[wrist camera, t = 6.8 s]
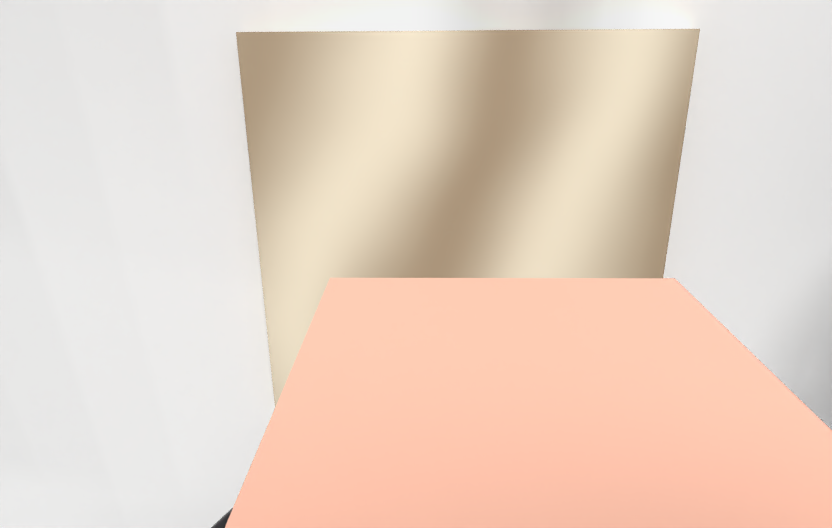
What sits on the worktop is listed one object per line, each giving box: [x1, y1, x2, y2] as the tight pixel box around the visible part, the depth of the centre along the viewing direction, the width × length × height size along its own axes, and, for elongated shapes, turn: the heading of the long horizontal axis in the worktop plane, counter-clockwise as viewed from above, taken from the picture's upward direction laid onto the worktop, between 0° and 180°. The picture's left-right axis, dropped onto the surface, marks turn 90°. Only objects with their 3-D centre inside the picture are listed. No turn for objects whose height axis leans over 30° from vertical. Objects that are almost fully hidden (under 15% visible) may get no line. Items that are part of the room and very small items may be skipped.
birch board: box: [236, 29, 700, 407], centre depth 18 cm, size 12×12×1 cm
